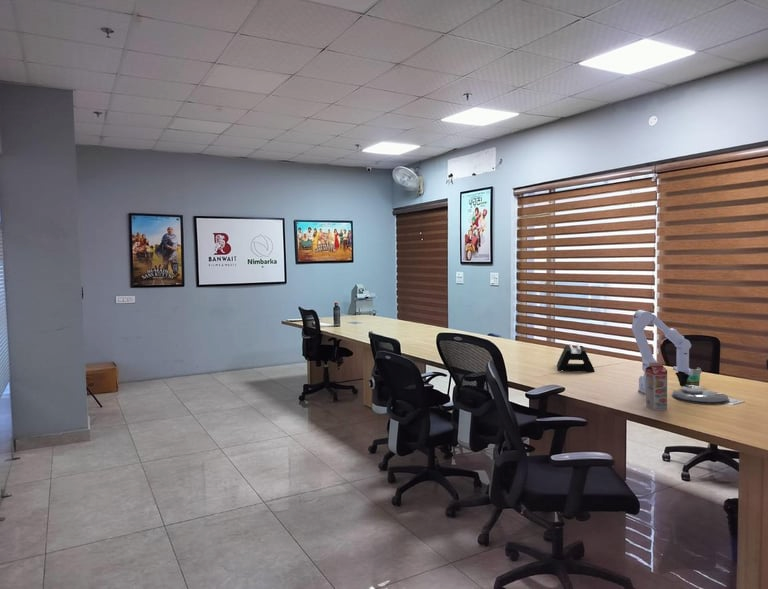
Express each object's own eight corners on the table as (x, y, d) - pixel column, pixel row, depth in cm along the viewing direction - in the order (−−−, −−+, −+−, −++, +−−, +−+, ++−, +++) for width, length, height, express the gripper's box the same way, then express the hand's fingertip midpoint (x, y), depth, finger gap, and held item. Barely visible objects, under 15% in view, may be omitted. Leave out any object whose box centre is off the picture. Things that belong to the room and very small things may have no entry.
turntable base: (691, 405, 254) (691, 404, 254) (661, 393, 279) (661, 392, 279) (741, 403, 255) (741, 402, 255) (707, 391, 280) (707, 390, 280)
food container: (689, 389, 287) (689, 370, 286) (679, 386, 293) (679, 368, 292) (707, 387, 290) (707, 369, 290) (697, 384, 296) (697, 367, 296)
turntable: (691, 403, 255) (691, 400, 255) (663, 392, 279) (663, 389, 279) (739, 401, 256) (739, 399, 255) (707, 390, 279) (707, 388, 279)
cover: (689, 394, 268) (689, 389, 268) (678, 390, 277) (678, 385, 277) (706, 393, 269) (706, 388, 269) (695, 389, 278) (695, 384, 278)
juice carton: (645, 406, 254) (645, 361, 253) (658, 406, 255) (658, 361, 253) (653, 410, 247) (653, 363, 246) (667, 409, 248) (667, 363, 247)
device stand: (557, 371, 345) (557, 348, 344) (557, 365, 366) (556, 343, 366) (594, 372, 338) (594, 349, 338) (591, 366, 360) (591, 344, 359)
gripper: (698, 362, 274) (698, 388, 274) (681, 358, 288) (681, 382, 289) (685, 363, 273) (685, 389, 274) (669, 358, 288) (669, 383, 288)
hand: (682, 386), depth 281 cm, fingers closed
